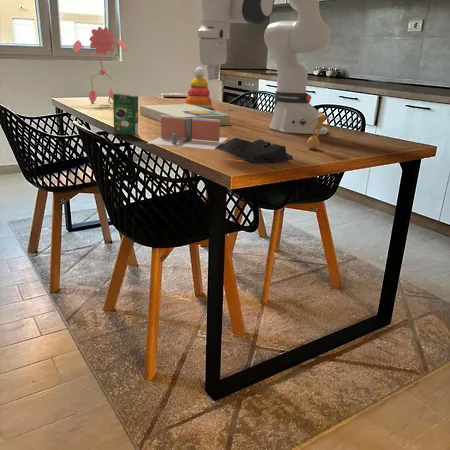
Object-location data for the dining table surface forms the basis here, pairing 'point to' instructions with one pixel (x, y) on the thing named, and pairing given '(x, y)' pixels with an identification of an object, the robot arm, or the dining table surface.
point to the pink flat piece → (176, 126)
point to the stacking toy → (199, 91)
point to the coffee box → (125, 114)
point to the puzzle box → (183, 112)
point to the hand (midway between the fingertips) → (213, 79)
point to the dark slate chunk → (256, 151)
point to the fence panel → (205, 129)
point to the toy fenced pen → (187, 142)
